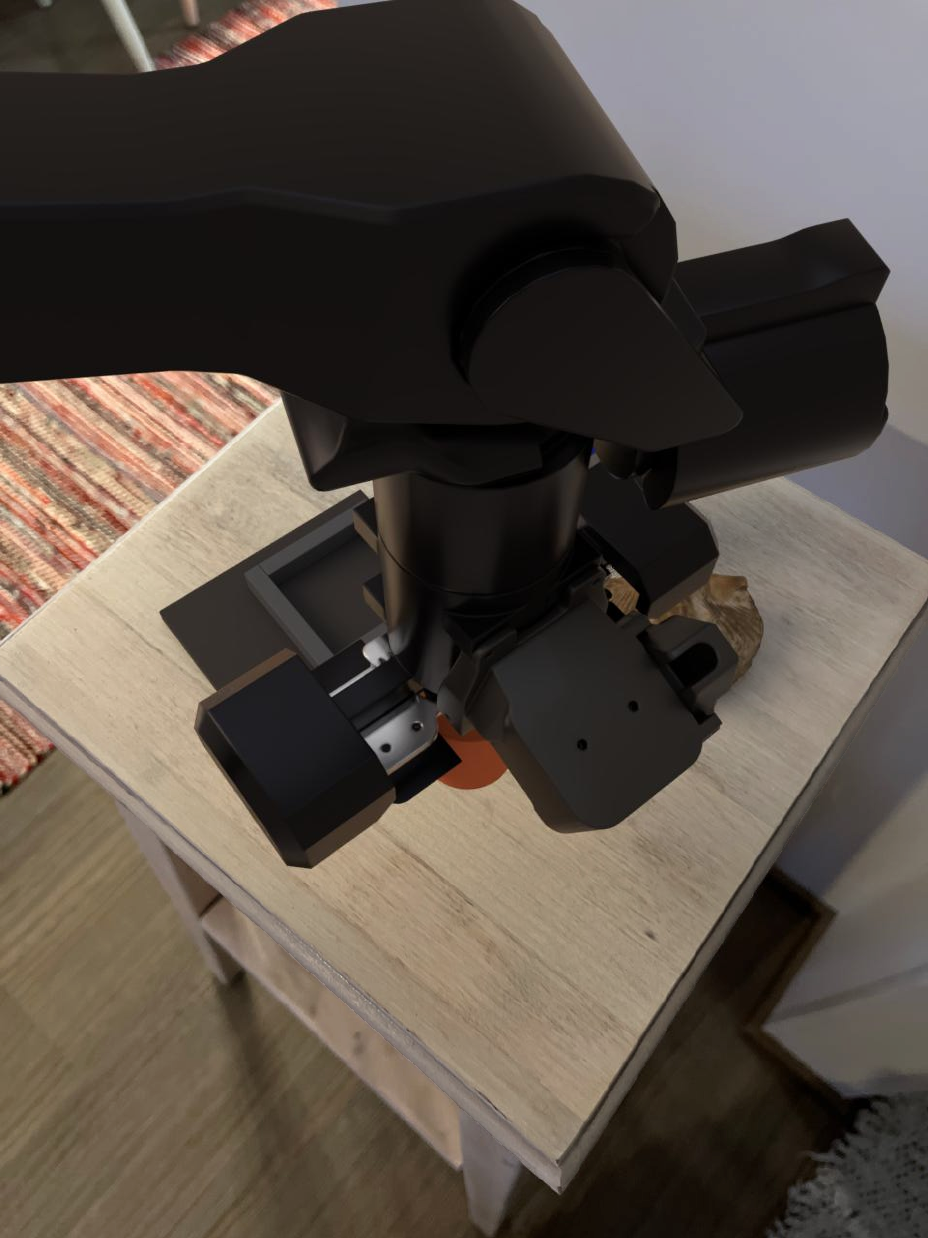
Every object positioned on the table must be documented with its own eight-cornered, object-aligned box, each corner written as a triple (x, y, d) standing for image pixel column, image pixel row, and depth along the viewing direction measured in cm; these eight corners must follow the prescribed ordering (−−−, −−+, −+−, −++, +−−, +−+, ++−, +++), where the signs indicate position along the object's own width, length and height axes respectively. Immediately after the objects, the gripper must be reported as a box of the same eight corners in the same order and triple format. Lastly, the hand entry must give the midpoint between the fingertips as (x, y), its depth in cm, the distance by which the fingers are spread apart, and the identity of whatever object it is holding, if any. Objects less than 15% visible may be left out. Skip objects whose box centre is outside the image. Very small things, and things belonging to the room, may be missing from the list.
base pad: (279, 774, 52) (271, 756, 50) (162, 620, 57) (151, 596, 55) (485, 630, 57) (486, 607, 54) (361, 498, 61) (358, 472, 59)
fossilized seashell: (770, 573, 56) (593, 554, 58) (776, 565, 49) (577, 544, 52) (752, 706, 56) (577, 681, 58) (756, 715, 49) (559, 687, 52)
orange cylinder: (458, 809, 41) (460, 762, 37) (401, 738, 42) (396, 685, 38) (533, 754, 42) (543, 703, 38) (475, 687, 44) (478, 630, 39)
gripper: (371, 952, 22) (399, 1048, 35) (914, 532, 28) (761, 751, 41) (127, 608, 26) (235, 810, 40) (643, 310, 32) (584, 573, 46)
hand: (466, 735), depth 41 cm, fingers closed on orange cylinder, 4 cm apart
